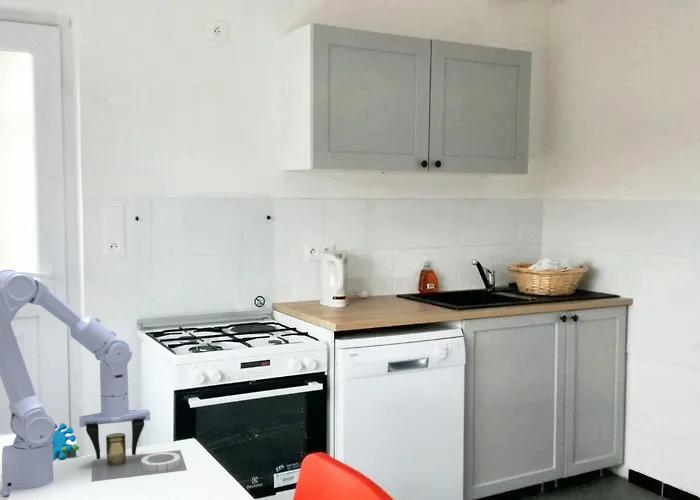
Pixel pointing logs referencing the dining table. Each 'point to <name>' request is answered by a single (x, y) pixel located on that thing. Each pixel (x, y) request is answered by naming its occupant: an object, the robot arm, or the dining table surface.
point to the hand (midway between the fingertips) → (116, 455)
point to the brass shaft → (116, 449)
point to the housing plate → (139, 466)
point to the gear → (63, 442)
